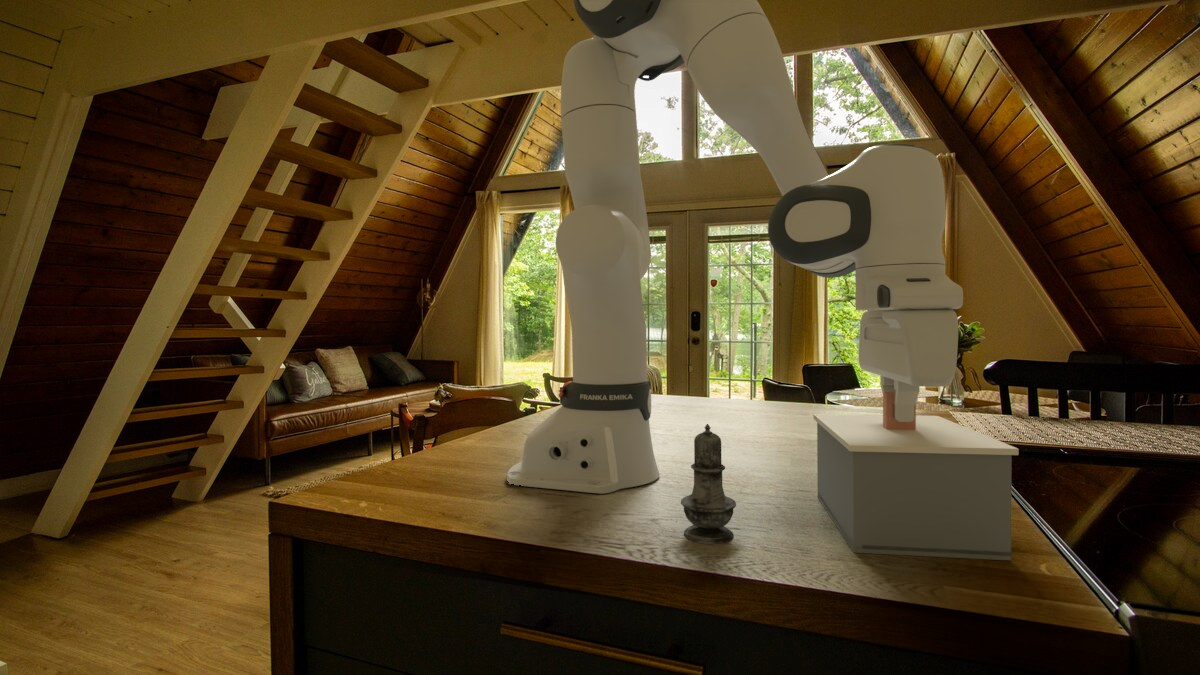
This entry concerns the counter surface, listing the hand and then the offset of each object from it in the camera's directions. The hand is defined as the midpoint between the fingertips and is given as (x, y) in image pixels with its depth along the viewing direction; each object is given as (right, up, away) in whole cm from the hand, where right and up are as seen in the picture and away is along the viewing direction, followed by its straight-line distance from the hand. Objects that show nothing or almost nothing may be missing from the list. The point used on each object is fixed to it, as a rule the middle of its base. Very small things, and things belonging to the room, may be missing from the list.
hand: (898, 418), depth 64 cm
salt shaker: (-22, -12, -2) cm, 25 cm away
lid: (0, -2, 0) cm, 2 cm away
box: (0, -12, 0) cm, 12 cm away
